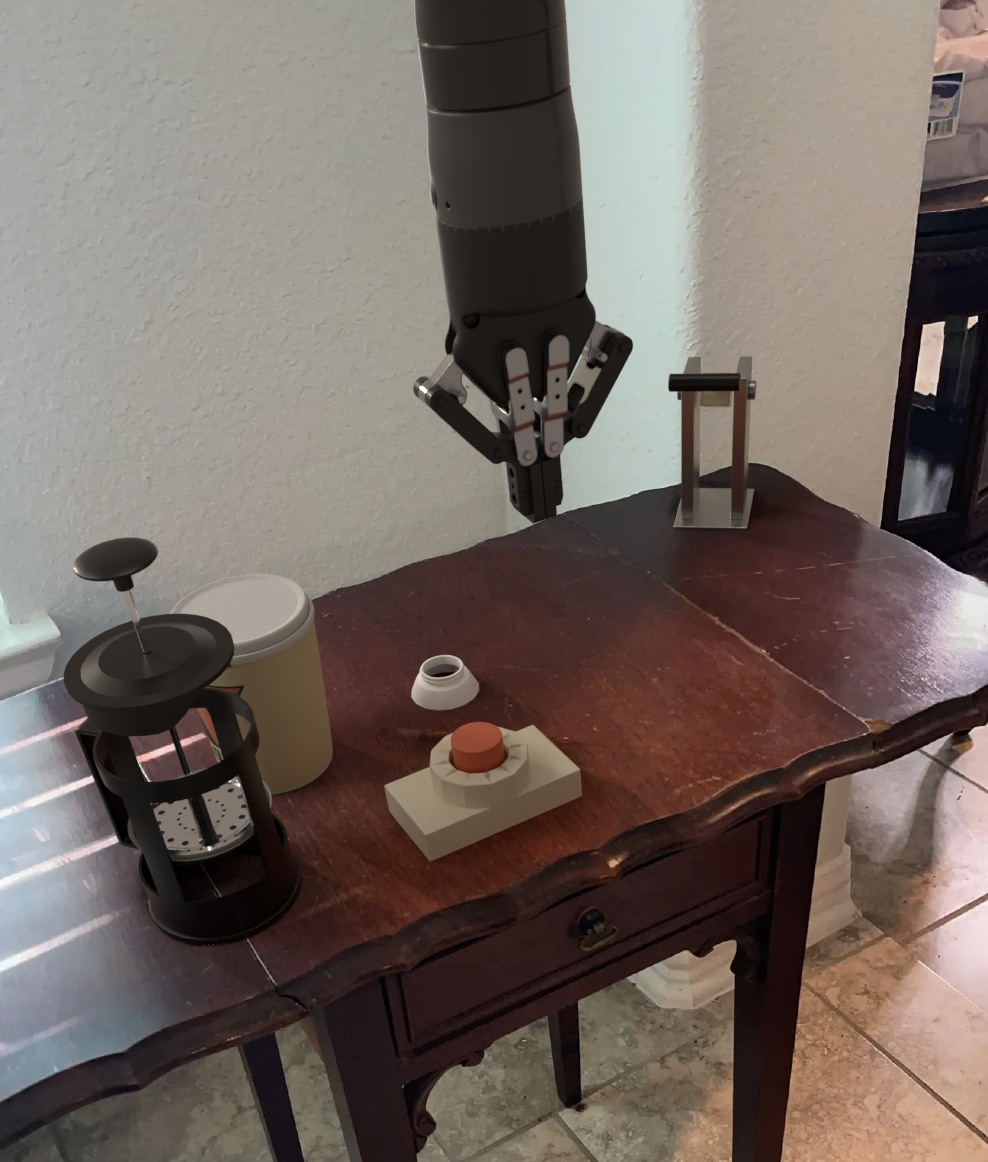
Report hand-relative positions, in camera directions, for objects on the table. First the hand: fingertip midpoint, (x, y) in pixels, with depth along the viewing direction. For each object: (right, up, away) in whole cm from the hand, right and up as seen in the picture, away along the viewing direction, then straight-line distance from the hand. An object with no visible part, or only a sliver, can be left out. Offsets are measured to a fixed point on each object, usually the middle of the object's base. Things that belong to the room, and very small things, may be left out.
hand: (538, 514), depth 75 cm
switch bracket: (+16, +8, +31) cm, 36 cm away
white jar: (-6, -9, +15) cm, 19 cm away
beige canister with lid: (-18, -14, +12) cm, 25 cm away
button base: (-3, -17, +6) cm, 18 cm away
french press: (-20, -23, +3) cm, 30 cm away
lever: (+14, +14, +20) cm, 28 cm away
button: (-4, -14, +4) cm, 15 cm away
